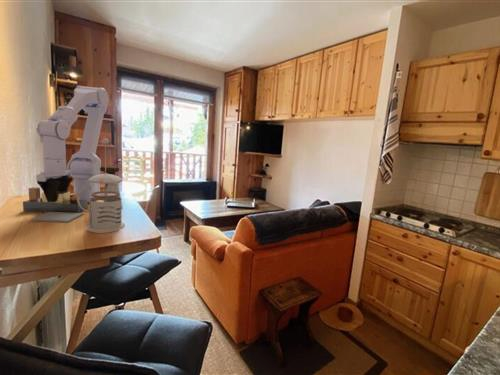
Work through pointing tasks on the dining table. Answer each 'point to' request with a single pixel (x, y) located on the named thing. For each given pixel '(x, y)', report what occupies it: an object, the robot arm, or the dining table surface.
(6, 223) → the dining table surface
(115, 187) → the salt shaker
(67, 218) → the mat
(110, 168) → the bolt
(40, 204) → the plane body
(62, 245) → the dining table surface
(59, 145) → the robot arm
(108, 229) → the french press
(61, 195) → the beige block
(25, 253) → the dining table surface
